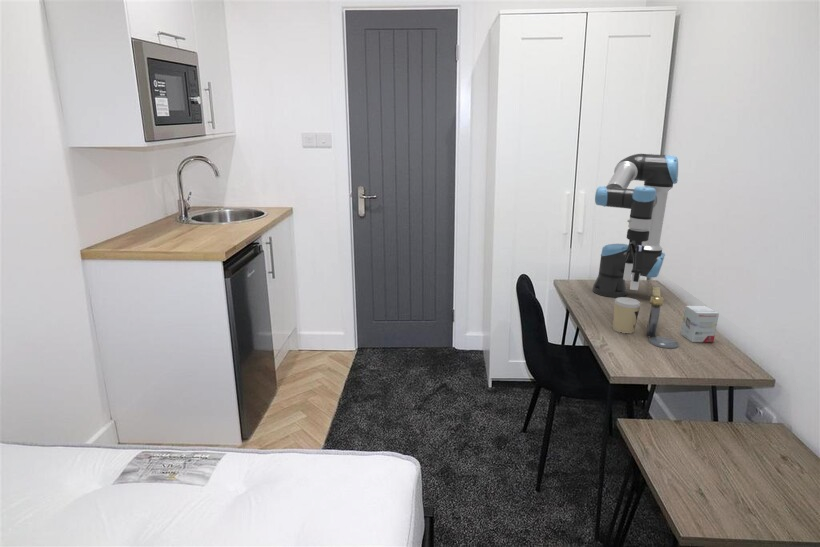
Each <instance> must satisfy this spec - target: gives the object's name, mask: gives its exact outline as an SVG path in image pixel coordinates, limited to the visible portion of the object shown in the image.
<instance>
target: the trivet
mask: <svg viewBox="0 0 820 547" xmlns="http://www.w3.org/2000/svg"><path fill="white" fill-rule="evenodd" d="M648 342H649V343H650V344H651V345H653V346H654V347H655V346H656V347H658V348H661V349H668V350H669V349H671V350H672V349H677V348H678V347H679V345H680V344H679V342H678V341H676V340H675V339H672V338H669V337H667V336H660V335H659V336H658V335H656V336H653V337H649V338H648Z"/></svg>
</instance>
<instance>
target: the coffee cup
mask: <svg viewBox="0 0 820 547" xmlns="http://www.w3.org/2000/svg"><path fill="white" fill-rule="evenodd" d="M641 305H642V304H641V302H640V301H639V300H638V299H635V298H631V297H627V296H626V297H625V296H624V297H615V299H614V306H613V307H614V308H613V320H612V321H613V322H612V329H613V331H615V332H616V333H620V332H622V333H621V334H625V333H630V334H633V333H634V332H635V328H636V325H637V320H638V317H639V316H638V315H639V311H640V307H641ZM632 332H633V333H632Z"/></svg>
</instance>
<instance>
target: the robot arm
mask: <svg viewBox="0 0 820 547" xmlns="http://www.w3.org/2000/svg"><path fill="white" fill-rule="evenodd" d="M678 178H679V160H678V157H677V156H675V155H670V154H669V155H668V154H654V153H653V154H652V153H636V154H635V153H634V154H632V155H631V154H630V155H629V156H627V157H624V158H623V159H621V160H620V161H619V162H618V163H617V164H616V165H615V167H614V171H613V175H612V177H611V178H610V180H609V181H608V183H607V184H606V186H598V187H597V188H596V191H595V196H594V202H595V203H594V204H595V205H596V206H601V207H609V208H621V209H630V212H629V213H630V214H629V219H627V223H628V229H627V232H626V239H627V240H628V242H629V243H628V244H626V243H610V244H609V243H608V244H606V245H604V246H602V248H601V254H600V262H599V271H598V276H596V279H595V281H594V283H593V286H592V292H593V293H594V294H597V295H599V296H602V297H608V298H609V297H610V298H619V297H625V296H626V297H627V294H628V293H627V291H628V289H627V284H626V281H630V284H629V290H632V291H639V285H640V280H641V277H645V278H657V277H658V276H659V274H660V271H661V269H662V266H663V263H664V259H665V256H666V254H665V252H663V248H662V246H661V245H660V243H661V236H662V230H663V224H664V218H665V213H666V207H667V205H666V204H667V199H668V195H669V194H668V193H669V191H670V190H672V189H673V187H674V185H675V184H678V181H679V180H678ZM632 181H639V182H641V181H642V182H643V186H636V187H634V188H628V187H629V186H630V183H631V182H632Z"/></svg>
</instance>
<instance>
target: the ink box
mask: <svg viewBox="0 0 820 547" xmlns="http://www.w3.org/2000/svg"><path fill="white" fill-rule="evenodd" d="M684 307H685V308H684V313H683V318H682V325H681V330H680V336H681V335H682V336H683V337H684V338H686V339H687V340H688V341H690V342H691V343H714V341H715V336H716V331H717V325H718V320H719V319H718V318H719V314H720V313H719V312H717V311H716V310H715V309H712V308H710V307H709V306H707V305H685V306H684Z"/></svg>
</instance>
